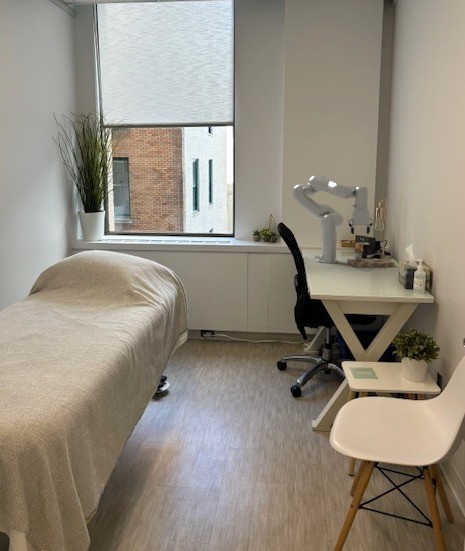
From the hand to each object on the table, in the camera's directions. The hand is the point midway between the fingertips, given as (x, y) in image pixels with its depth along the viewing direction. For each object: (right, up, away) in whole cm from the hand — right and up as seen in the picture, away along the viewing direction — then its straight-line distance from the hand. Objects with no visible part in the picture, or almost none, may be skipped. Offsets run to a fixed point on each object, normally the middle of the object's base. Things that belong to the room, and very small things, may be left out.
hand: (360, 233), depth 340 cm
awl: (0, -17, +3) cm, 18 cm away
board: (+8, -20, +4) cm, 21 cm away
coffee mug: (+10, -15, +32) cm, 37 cm away
